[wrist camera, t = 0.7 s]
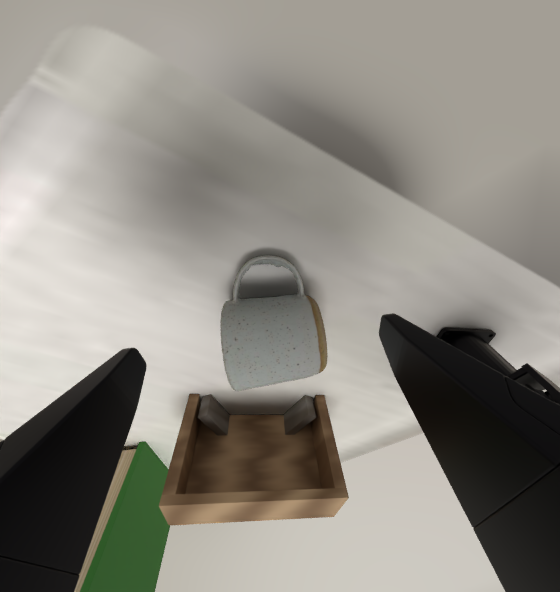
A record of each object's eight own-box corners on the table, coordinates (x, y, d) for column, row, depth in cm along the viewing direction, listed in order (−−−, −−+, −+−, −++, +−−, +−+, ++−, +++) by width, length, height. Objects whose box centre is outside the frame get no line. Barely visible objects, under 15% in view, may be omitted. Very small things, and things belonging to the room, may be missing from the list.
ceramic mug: (314, 334, 26) (331, 397, 20) (240, 344, 26) (234, 410, 20) (310, 243, 20) (332, 291, 14) (215, 256, 20) (194, 309, 14)
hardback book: (97, 446, 37) (-95, 811, 17) (145, 441, 37) (9, 798, 17) (142, 487, 47) (54, 746, 27) (180, 483, 47) (120, 738, 27)
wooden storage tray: (324, 395, 33) (348, 497, 23) (315, 419, 36) (333, 516, 27) (189, 394, 31) (158, 505, 21) (193, 419, 34) (168, 525, 25)
